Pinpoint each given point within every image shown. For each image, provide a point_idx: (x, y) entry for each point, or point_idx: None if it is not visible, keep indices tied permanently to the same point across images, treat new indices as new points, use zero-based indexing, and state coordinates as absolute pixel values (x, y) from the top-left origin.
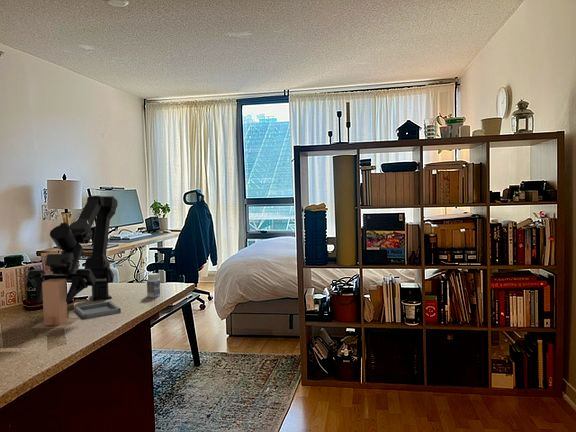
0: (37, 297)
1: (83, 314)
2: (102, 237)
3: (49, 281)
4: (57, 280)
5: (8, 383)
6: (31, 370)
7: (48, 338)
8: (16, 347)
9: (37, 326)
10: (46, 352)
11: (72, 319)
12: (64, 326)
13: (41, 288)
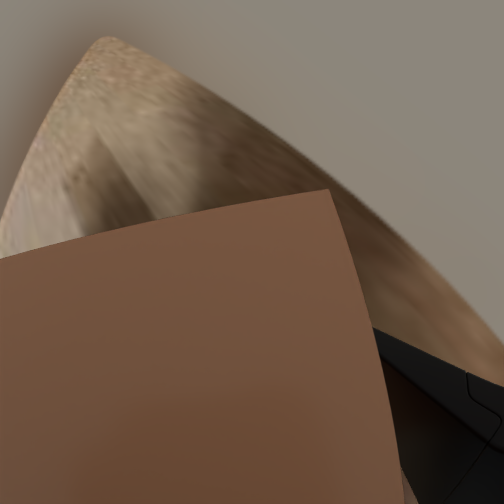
0: (393, 339)
1: None
2: None
3: (152, 315)
4: (18, 456)
5: (109, 39)
6: (92, 67)
7: (148, 214)
8: (212, 126)
9: None
10: (95, 123)
11: None
12: None
13: (448, 422)
